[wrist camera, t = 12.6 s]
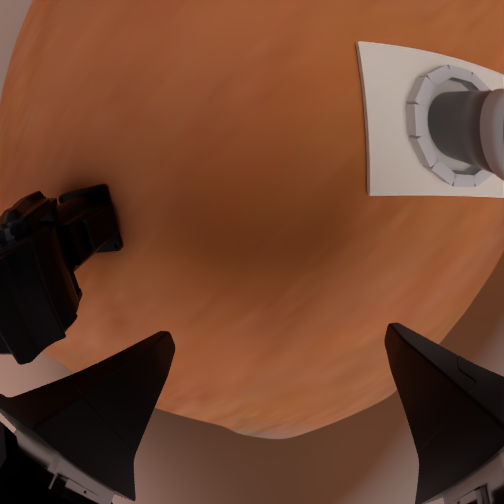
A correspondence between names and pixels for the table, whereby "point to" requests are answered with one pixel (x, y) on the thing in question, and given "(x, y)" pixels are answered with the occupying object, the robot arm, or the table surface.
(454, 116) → the grey round piece
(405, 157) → the board
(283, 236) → the table surface
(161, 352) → the robot arm
